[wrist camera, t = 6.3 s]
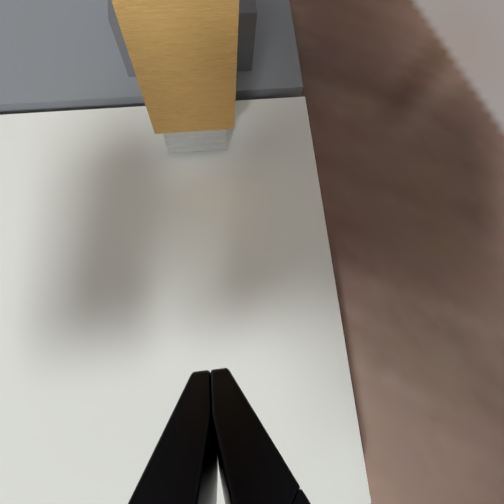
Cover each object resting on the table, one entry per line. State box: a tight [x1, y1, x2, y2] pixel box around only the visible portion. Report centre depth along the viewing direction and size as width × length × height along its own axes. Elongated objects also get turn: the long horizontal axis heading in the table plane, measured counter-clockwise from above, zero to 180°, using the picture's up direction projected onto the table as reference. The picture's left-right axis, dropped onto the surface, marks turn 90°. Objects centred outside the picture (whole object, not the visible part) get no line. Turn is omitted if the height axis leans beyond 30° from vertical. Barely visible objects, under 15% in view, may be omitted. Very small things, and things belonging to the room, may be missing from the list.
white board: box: [0, 0, 371, 504], centre depth 15 cm, size 22×16×5 cm
